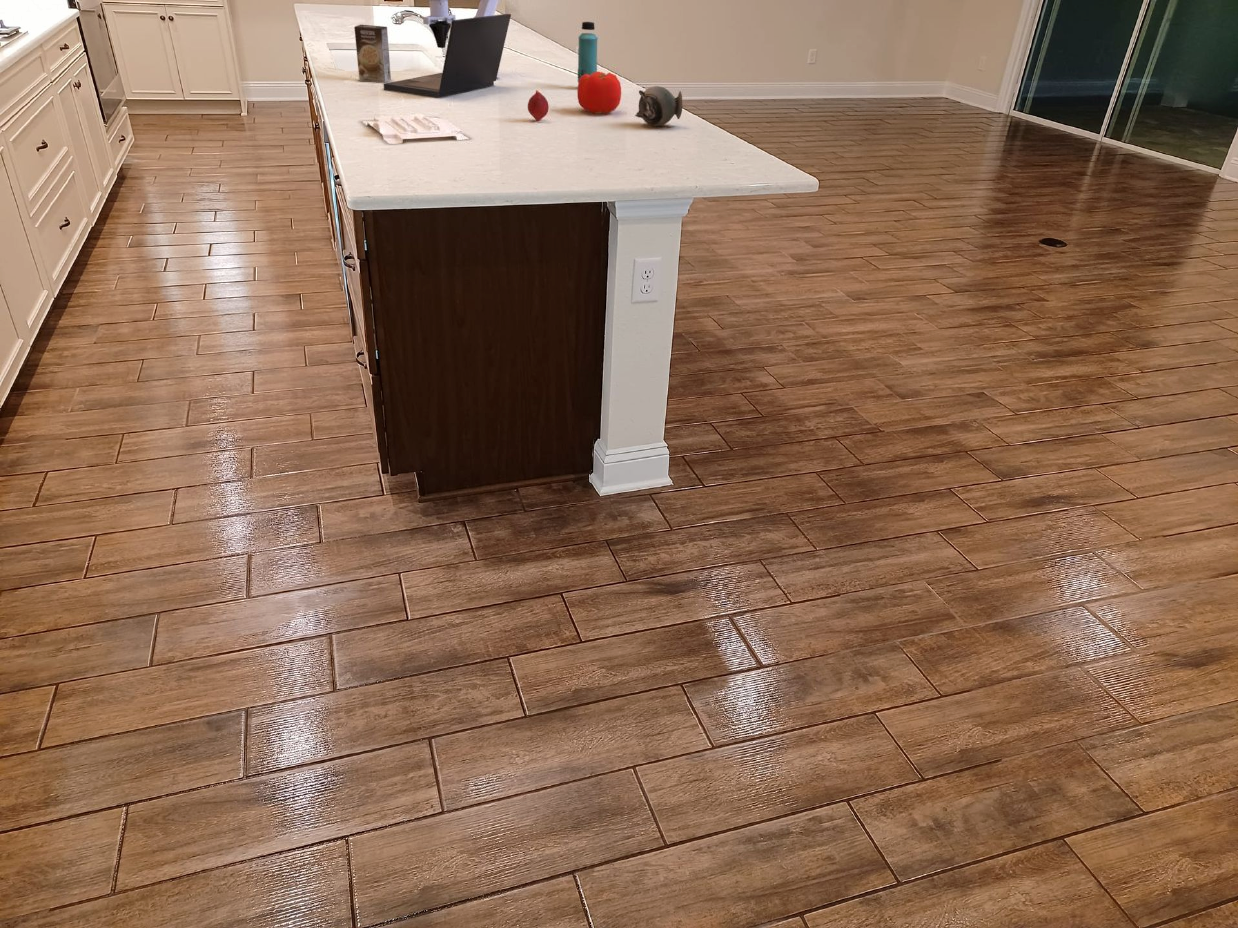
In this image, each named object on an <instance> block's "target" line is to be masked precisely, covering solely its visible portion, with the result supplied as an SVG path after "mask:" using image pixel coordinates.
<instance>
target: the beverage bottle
mask: <svg viewBox="0 0 1238 928" xmlns="http://www.w3.org/2000/svg"><path fill="white" fill-rule="evenodd" d="M595 29H596V28H595V22H593V21H582V22H581V30H585V31H594V30H595ZM577 38H578V48H577V57H578V59H577V83H579V80H580V78H581V76H582V75H584V74H588V75H589V76H590V74H592V73H595V72H598V37H597V35H596V34H595V33H591V32H583V33H581V34H579V35H578V37H577Z"/></svg>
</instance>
